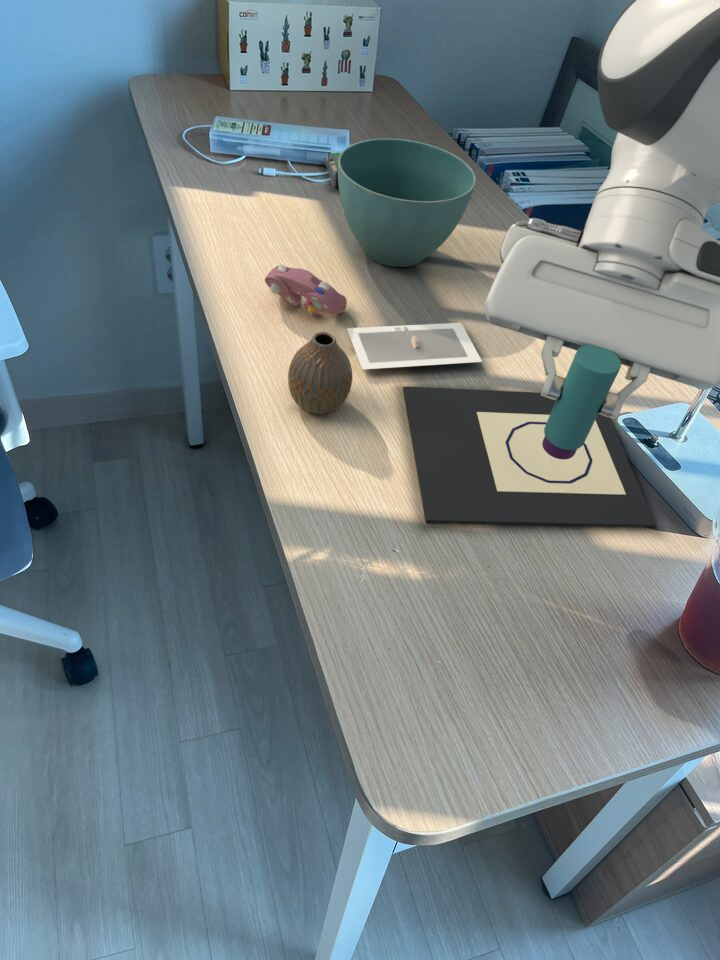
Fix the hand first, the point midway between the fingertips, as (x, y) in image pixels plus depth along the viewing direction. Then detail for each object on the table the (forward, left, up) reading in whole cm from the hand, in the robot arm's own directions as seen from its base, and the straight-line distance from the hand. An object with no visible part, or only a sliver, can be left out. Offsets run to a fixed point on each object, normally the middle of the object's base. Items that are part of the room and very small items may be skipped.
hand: (578, 406), depth 63 cm
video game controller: (+21, -36, -17) cm, 45 cm away
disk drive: (+9, -74, -17) cm, 76 cm away
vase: (+20, -18, -17) cm, 32 cm away
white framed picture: (+8, -28, -17) cm, 34 cm away
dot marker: (0, -1, -5) cm, 5 cm away
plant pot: (+8, -51, -17) cm, 54 cm away
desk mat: (-2, -11, -17) cm, 20 cm away
